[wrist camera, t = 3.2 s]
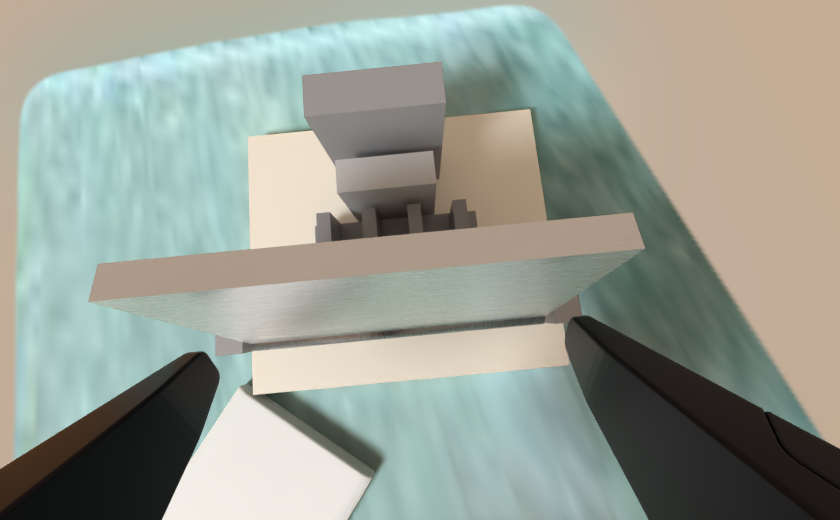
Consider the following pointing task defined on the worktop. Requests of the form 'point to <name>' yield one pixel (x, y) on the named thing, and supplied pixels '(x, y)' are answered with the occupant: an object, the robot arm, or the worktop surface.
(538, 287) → the brushed grey panel
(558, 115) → the worktop surface
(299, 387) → the board
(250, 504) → the external hard drive
